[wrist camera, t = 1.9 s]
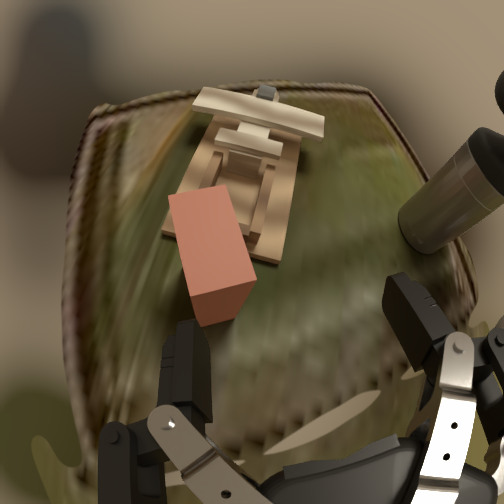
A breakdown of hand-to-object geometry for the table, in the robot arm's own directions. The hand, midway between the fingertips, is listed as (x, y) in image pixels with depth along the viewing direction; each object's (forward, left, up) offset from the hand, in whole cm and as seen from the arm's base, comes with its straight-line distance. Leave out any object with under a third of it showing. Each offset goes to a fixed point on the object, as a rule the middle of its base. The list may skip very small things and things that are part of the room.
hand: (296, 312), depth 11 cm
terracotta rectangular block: (+1, -7, -19) cm, 20 cm away
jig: (-13, -22, -19) cm, 32 cm away
